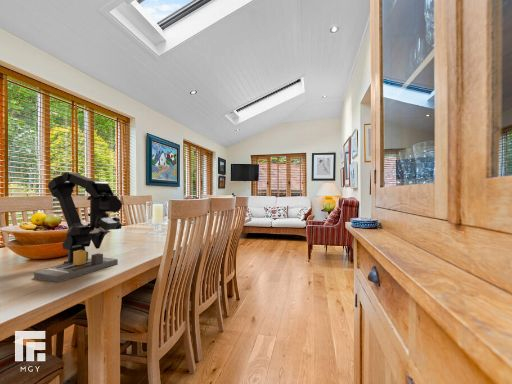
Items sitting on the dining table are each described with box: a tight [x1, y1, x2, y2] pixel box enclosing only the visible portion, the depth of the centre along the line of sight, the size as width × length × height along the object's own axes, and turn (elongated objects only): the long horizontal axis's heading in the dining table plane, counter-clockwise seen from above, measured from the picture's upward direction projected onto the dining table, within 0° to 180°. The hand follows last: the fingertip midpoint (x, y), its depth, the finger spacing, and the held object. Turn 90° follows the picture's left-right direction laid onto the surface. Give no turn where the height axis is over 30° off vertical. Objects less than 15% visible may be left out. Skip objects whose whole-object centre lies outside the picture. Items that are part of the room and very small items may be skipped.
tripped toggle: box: [73, 249, 87, 265], centre depth 99 cm, size 3×3×5 cm
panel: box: [33, 251, 119, 283], centre depth 99 cm, size 12×24×6 cm, turn 160°
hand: (97, 248), depth 106 cm, fingers closed
